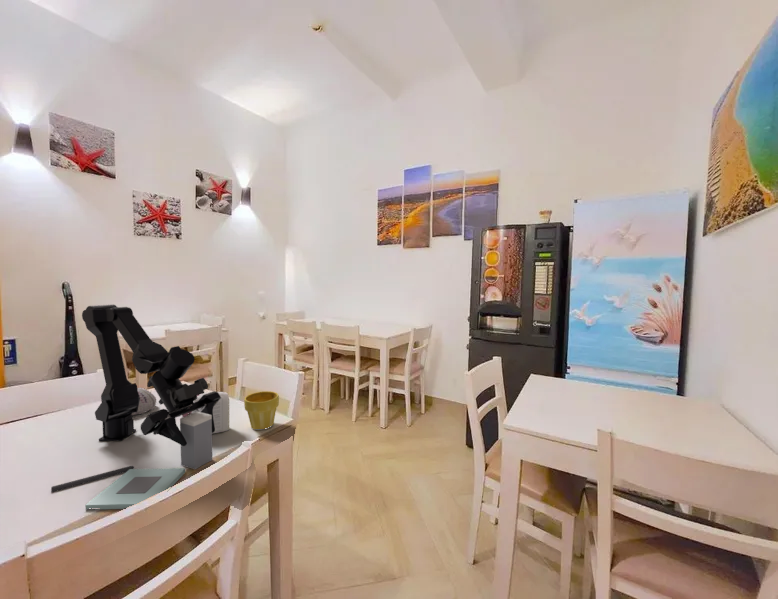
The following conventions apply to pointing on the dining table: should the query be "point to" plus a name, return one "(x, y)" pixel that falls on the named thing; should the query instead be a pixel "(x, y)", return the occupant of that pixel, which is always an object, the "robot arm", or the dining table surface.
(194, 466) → the light grey rectangular block
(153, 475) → the teal flat square slab
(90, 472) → the dining table surface
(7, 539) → the dining table surface
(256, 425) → the plant pot
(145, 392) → the sea urchin shell
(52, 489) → the dark grey bar
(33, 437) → the dining table surface
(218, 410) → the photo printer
